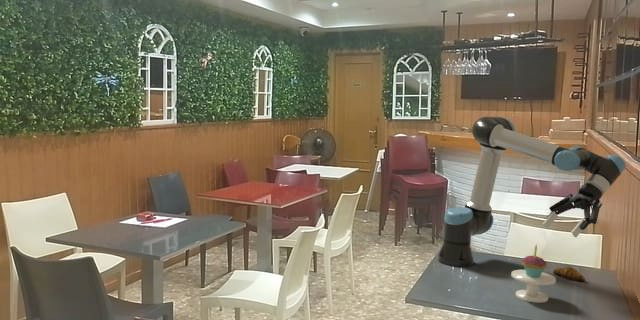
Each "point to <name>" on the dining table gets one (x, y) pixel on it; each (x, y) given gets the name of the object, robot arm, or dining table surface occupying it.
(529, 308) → the dining table surface
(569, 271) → the croissant
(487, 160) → the robot arm
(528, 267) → the cupcake
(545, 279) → the cake stand
